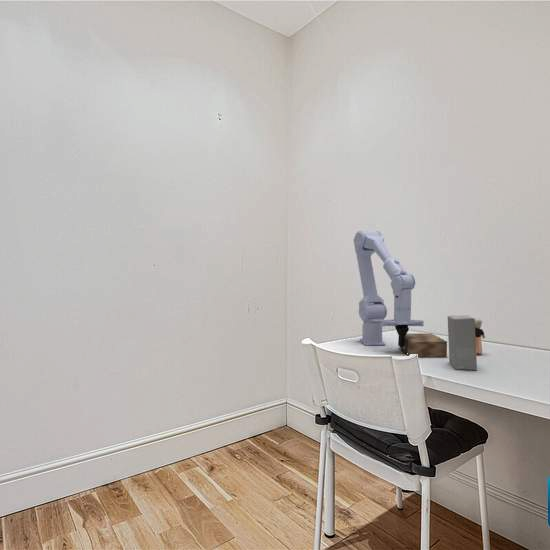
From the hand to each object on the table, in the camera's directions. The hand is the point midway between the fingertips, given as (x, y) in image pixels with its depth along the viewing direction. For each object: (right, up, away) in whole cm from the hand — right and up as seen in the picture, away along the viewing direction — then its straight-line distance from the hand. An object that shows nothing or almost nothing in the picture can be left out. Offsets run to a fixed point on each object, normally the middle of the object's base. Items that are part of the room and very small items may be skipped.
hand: (401, 346), depth 146 cm
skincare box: (+13, -3, -18) cm, 22 cm away
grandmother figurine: (+25, -3, -3) cm, 25 cm away
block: (+7, -2, 0) cm, 8 cm away
